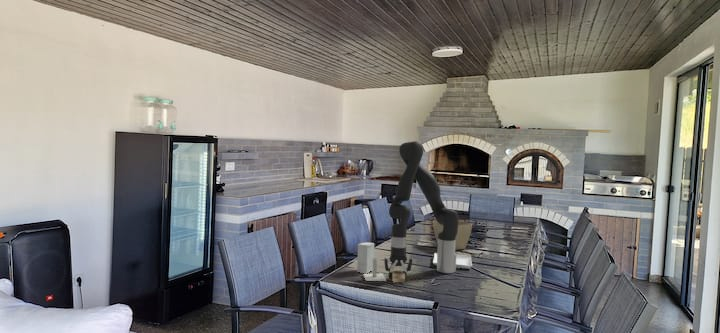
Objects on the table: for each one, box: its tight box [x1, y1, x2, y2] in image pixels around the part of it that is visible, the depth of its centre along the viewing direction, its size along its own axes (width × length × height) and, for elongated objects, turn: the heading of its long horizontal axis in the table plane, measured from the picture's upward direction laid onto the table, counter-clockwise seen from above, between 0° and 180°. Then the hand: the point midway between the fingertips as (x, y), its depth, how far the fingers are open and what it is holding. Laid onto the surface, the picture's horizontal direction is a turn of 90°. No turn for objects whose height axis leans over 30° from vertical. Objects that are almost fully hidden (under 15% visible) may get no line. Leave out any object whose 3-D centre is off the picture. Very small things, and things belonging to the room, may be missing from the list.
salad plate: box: [432, 252, 473, 270], centre depth 245 cm, size 21×21×3 cm
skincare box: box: [356, 241, 375, 274], centre depth 226 cm, size 8×6×15 cm
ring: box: [391, 270, 406, 283], centre depth 213 cm, size 6×6×4 cm
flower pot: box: [432, 220, 473, 251], centre depth 284 cm, size 19×19×17 cm
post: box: [362, 257, 387, 282], centre depth 215 cm, size 10×10×10 cm
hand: (397, 279), depth 213 cm, fingers closed on ring, 6 cm apart
